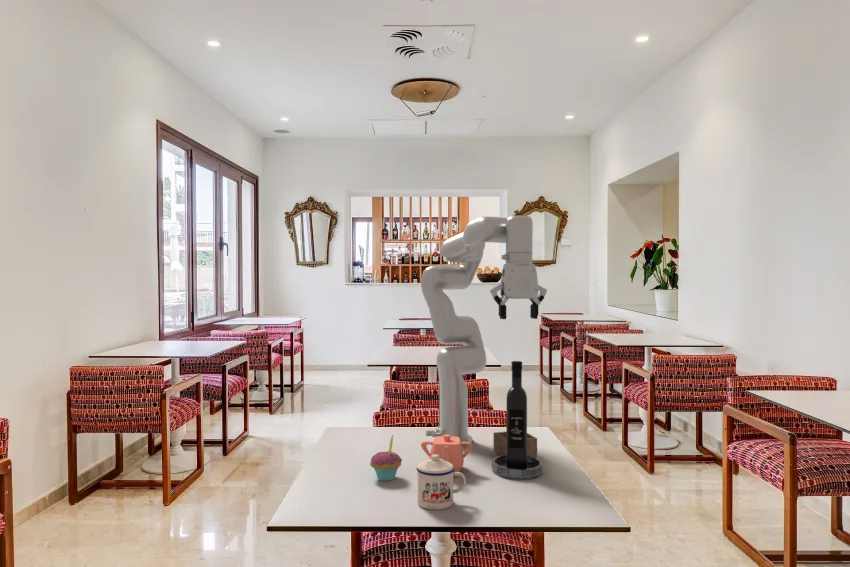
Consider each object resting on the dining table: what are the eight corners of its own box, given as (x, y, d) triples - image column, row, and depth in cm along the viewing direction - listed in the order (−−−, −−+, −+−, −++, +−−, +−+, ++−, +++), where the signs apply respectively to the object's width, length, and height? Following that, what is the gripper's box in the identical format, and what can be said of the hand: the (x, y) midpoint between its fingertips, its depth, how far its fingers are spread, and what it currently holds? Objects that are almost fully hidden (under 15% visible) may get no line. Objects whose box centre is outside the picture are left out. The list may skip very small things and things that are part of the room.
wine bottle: (526, 471, 160) (527, 363, 159) (506, 469, 160) (506, 362, 160) (526, 464, 165) (526, 360, 165) (506, 463, 166) (506, 360, 166)
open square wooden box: (506, 461, 172) (506, 441, 171) (493, 451, 181) (493, 432, 181) (537, 458, 174) (537, 438, 174) (522, 448, 184) (522, 430, 184)
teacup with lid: (418, 511, 134) (418, 461, 134) (414, 497, 143) (414, 450, 143) (469, 509, 135) (469, 460, 135) (462, 494, 144) (462, 448, 144)
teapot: (415, 467, 165) (415, 432, 165) (447, 460, 172) (447, 426, 172) (445, 482, 154) (445, 444, 154) (479, 473, 161) (479, 437, 161)
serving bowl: (504, 481, 154) (504, 472, 154) (484, 465, 167) (484, 456, 167) (551, 476, 158) (551, 467, 158) (528, 461, 171) (528, 452, 171)
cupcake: (406, 474, 159) (406, 431, 159) (394, 485, 151) (394, 439, 151) (377, 471, 162) (377, 429, 162) (364, 481, 154) (364, 436, 154)
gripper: (496, 258, 159) (495, 320, 159) (552, 259, 163) (552, 319, 163) (486, 259, 166) (485, 318, 166) (540, 259, 170) (539, 317, 171)
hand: (518, 318), depth 165 cm, fingers open, 9 cm apart
